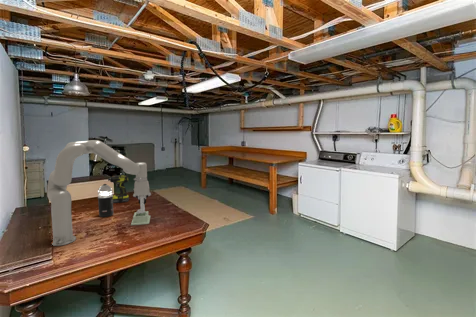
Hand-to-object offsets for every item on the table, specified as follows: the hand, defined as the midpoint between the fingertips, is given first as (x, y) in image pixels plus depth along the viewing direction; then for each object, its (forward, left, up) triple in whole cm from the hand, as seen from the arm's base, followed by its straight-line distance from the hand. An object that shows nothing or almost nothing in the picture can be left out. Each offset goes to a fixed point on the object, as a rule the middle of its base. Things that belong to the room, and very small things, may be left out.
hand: (142, 204), depth 181 cm
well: (0, +1, -13) cm, 13 cm away
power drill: (+58, +25, -13) cm, 64 cm away
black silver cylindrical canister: (+19, +28, -13) cm, 36 cm away
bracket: (0, +1, -6) cm, 6 cm away
